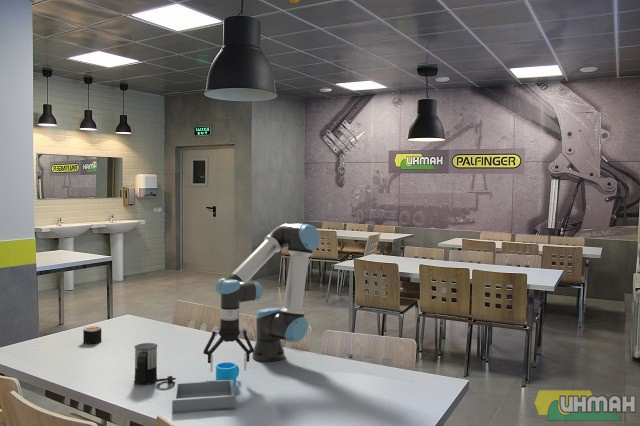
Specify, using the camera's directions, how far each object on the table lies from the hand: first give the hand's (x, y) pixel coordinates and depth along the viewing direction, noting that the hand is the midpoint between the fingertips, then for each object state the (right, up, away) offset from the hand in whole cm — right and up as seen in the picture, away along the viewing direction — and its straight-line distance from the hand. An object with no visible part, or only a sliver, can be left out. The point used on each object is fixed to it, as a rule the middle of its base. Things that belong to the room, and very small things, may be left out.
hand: (228, 370), depth 212 cm
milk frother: (-30, -6, +1) cm, 31 cm away
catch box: (-6, -6, -18) cm, 20 cm away
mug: (0, -6, +1) cm, 6 cm away
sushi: (-79, -2, +55) cm, 96 cm away
